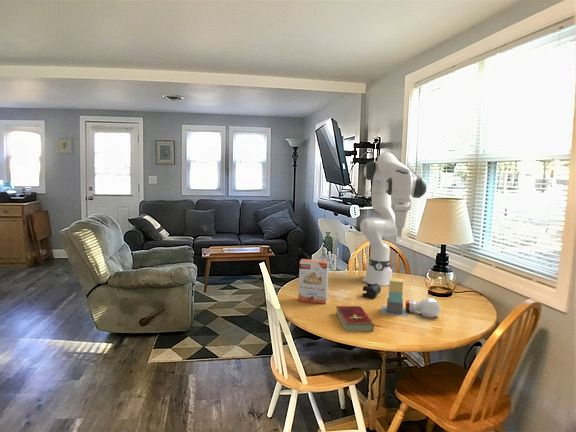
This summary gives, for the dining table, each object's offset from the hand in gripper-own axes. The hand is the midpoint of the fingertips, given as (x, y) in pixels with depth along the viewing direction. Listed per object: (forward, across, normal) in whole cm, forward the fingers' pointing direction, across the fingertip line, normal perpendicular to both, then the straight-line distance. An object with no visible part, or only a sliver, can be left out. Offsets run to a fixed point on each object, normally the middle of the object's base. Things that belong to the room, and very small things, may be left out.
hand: (399, 235), depth 189 cm
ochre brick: (+26, 0, 0) cm, 26 cm away
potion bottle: (+37, 0, +12) cm, 39 cm away
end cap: (+37, -20, -12) cm, 44 cm away
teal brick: (+31, 0, 0) cm, 31 cm away
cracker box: (+37, -3, -40) cm, 55 cm away
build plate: (+37, 0, 0) cm, 37 cm away
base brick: (+36, 0, 0) cm, 36 cm away
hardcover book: (+38, +18, -17) cm, 45 cm away
